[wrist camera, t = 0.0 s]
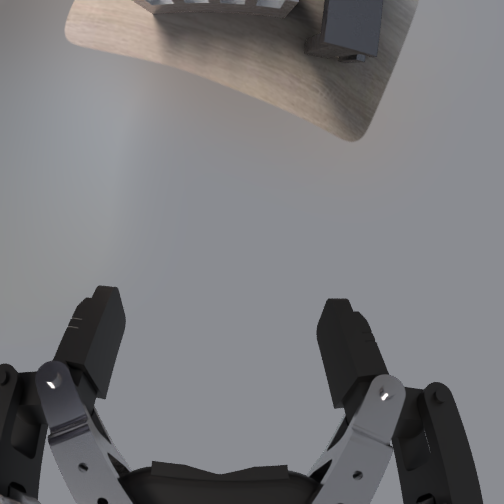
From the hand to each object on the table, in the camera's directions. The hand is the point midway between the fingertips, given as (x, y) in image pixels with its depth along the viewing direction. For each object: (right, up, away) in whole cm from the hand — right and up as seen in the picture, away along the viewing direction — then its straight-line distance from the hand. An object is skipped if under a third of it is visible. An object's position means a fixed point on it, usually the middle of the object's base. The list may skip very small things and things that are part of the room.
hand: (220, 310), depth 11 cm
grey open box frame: (+10, +33, +14) cm, 37 cm away
